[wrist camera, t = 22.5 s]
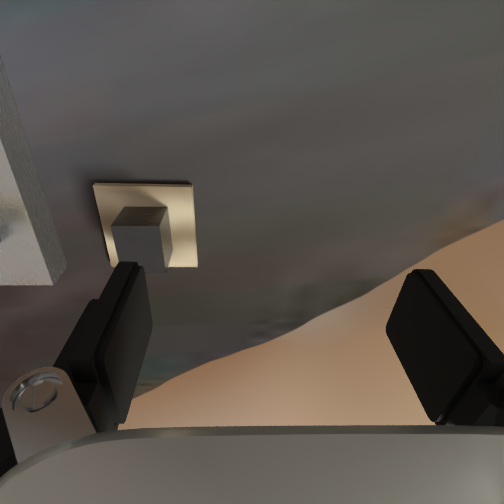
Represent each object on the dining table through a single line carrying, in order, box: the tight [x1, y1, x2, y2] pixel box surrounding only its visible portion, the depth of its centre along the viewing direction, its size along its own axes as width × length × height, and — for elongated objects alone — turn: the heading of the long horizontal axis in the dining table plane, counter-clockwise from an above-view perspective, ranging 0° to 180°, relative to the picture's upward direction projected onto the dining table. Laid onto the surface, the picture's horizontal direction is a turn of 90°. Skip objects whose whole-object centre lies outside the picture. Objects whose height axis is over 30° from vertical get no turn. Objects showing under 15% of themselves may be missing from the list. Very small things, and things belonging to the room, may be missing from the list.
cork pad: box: [93, 183, 198, 267], centre depth 40 cm, size 11×11×1 cm
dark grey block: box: [110, 207, 173, 273], centre depth 37 cm, size 6×5×5 cm
